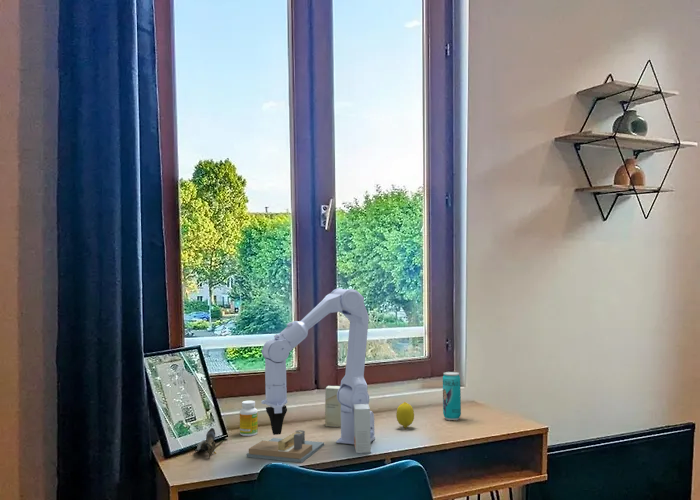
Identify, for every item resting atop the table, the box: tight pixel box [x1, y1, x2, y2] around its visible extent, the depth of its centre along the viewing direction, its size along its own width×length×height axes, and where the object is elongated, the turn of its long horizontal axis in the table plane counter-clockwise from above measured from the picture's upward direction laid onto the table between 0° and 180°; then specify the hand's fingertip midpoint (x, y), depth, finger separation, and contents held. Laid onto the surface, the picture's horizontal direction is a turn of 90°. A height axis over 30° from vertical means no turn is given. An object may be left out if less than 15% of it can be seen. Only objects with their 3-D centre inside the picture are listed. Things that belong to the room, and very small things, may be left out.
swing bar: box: [278, 429, 306, 450], centre depth 167 cm, size 12×3×4 cm, turn 158°
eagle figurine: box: [194, 427, 223, 460], centre depth 167 cm, size 8×7×9 cm
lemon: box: [396, 401, 415, 429], centre depth 191 cm, size 6×6×8 cm
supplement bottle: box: [239, 400, 259, 437], centre depth 187 cm, size 5×5×10 cm
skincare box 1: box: [324, 385, 341, 428], centre depth 196 cm, size 6×4×12 cm
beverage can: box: [442, 371, 462, 421], centre depth 202 cm, size 6×6×15 cm
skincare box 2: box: [353, 404, 372, 454], centre depth 169 cm, size 6×4×12 cm
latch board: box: [246, 433, 325, 463], centre depth 169 cm, size 16×16×6 cm
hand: (276, 433), depth 168 cm, fingers closed
